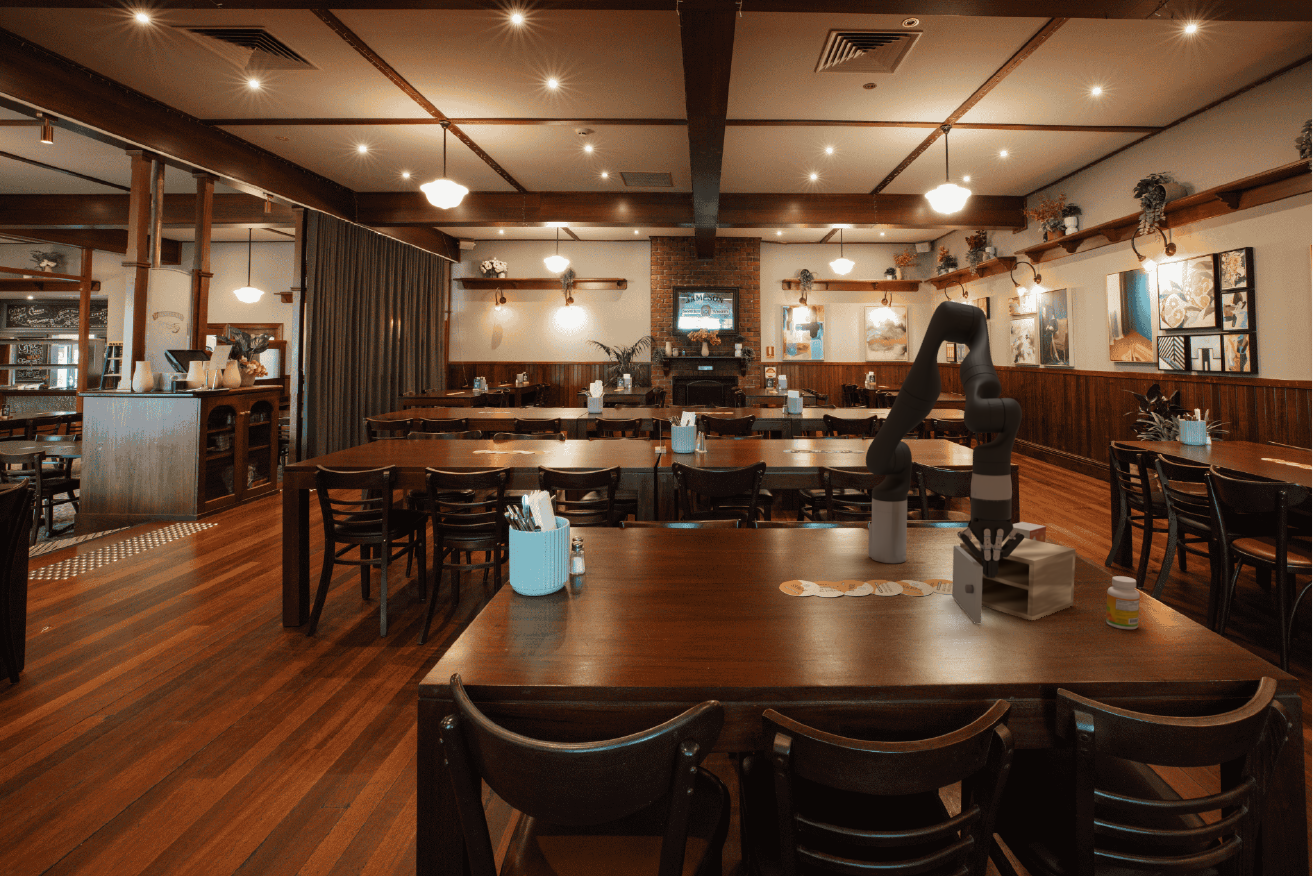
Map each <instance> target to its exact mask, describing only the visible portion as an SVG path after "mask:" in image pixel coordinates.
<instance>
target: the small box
mask: <svg viewBox="0 0 1313 876" xmlns="http://www.w3.org/2000/svg"><path fill="white" fill-rule="evenodd" d="M1012 524H1013V529H1014V530H1016V531H1017V532H1019V533H1021V534H1023V535H1024V538H1026V539H1031V540H1036V541H1041V542H1045V543H1046V535H1047V532H1046V531H1047V526H1046V525H1040V524H1036V523H1030V522H1025V521H1020V522H1017V523H1012Z"/></svg>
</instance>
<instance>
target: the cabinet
mask: <svg viewBox="0 0 1313 876" xmlns="http://www.w3.org/2000/svg"><path fill="white" fill-rule="evenodd" d="M1008 539H1009V535H1008V536H1007V538H1006V539H1005V540H1004V541H1003V542H1002V546H1003V545H1004V544H1005V543H1006V541H1007V540H1008ZM971 542H972V543H973V544H974V545H975V546H976V548H977V549H978V550H980V545H979V541H978V540H977V539H976V538H975V539H971ZM959 546H960V547H961V548H962V549H963V550H965V551H966V552H967V553H968V554H969V555H970V556H971V557H972V558H974V559H975V560H976V561H977V562H978V563H979V564H980V565H981V566H982V559H981V558H980V557H979V558H978V557H976V556H975V555H974V554H973V553H972V552H971V551H970V550H969V549H968V547H967V546H966V545H965V544H964V543H963V542H960V543H959ZM1076 551H1077V550H1076V548H1074V547H1068V546H1063V545H1058V544H1054V543H1049V542H1046V541H1045V542H1041V541H1036V540H1031V539H1026V538H1024V539H1023V540H1022V541H1021V543H1020V544H1019V545H1018V546H1017V547H1016V548H1015V549H1014V551H1013V552H1012V553H1011V554H1010V555H1009V556H1008V557H1007V558H1001V559H999V561H998V574H997V575H995V578H987V577H986V576H985V575H984V574H983V576H982V605H983V607H986V606H988V607H987V608H989V607H990V608H989V609H992V608H993V609H992V610H995V609H996V610H995V611H998V610H999V611H998V612H1001V611H1003V613H1005V612H1006V613H1005V614H1008V613H1010V614H1009V615H1011V614H1012V615H1011V616H1014V615H1016V616H1015V617H1017V616H1019V617H1018V618H1020V617H1022V618H1021V619H1024V620H1027V619H1028V620H1027V621H1030V620H1034V621H1036V619H1037V620H1039V619H1041V617H1042V618H1045V617H1047V616H1050V615H1052V613H1053V614H1055V612H1056V613H1058V612H1061V611H1064V610H1066V609H1068V608H1071V607H1070V606H1072V607H1074V590H1075V571H1076ZM1065 608H1066V609H1065ZM1063 609H1064V610H1063ZM1060 610H1061V611H1060ZM1057 611H1058V612H1057ZM1046 615H1047V616H1046ZM1044 616H1045V617H1044Z"/></svg>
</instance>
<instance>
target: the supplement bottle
mask: <svg viewBox="0 0 1313 876" xmlns="http://www.w3.org/2000/svg"><path fill="white" fill-rule="evenodd" d="M1111 585H1112V586H1110V587H1108V589H1107V592H1106V614H1105V622H1106V623H1107V624H1108V625H1109V626H1110V627H1113V628H1116V629H1120V630H1135V629H1137V628H1138V627H1139V617H1140V616H1139V613H1140V598H1141V597H1140V596H1141V595H1140V592H1139V591H1138V590H1136V587H1137V580H1136V579H1134V578H1133V577H1128V576H1123V575H1122V576H1121V575H1118V576H1117V575H1116V576H1112V579H1111Z"/></svg>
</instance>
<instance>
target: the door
mask: <svg viewBox="0 0 1313 876" xmlns="http://www.w3.org/2000/svg"><path fill="white" fill-rule="evenodd" d="M952 553H953V554H952V558H953V559H952V588H951V589H952V592H951V593H952V595H951V596H952V598H953V599H954V600H955V601H956V603H957V604H958V605H959V606H960V607H961V609H963V611H964V612H965V614H966V615H967V616H968V617H969V618H970V619H971V621H972V622H973V623H974V624H982V609H983V608H982V576H983V567H982V566H981V565H980V564H979V563H978V562H977V561H976V560H975V559H974V558H972V557H971V556H970V555H969V554H968V553H967V552H966V551H965V550H963V549H962V548H961V547H960V545H953V551H952Z"/></svg>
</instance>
